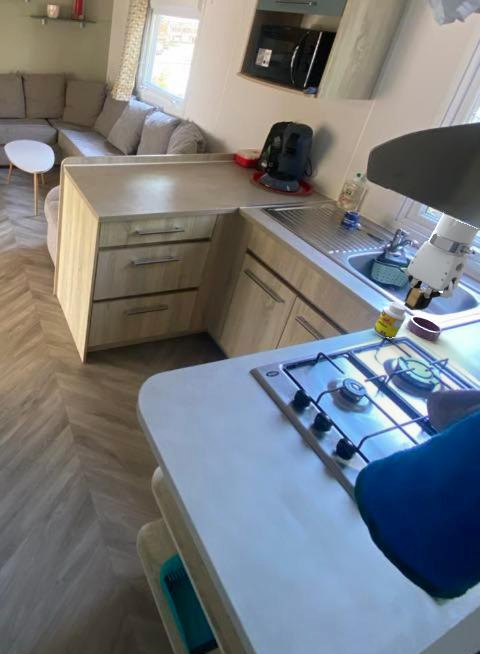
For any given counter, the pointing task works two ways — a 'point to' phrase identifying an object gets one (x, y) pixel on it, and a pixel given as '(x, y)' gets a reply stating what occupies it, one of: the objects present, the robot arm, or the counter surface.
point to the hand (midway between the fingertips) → (414, 304)
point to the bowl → (424, 328)
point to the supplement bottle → (390, 320)
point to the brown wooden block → (414, 298)
